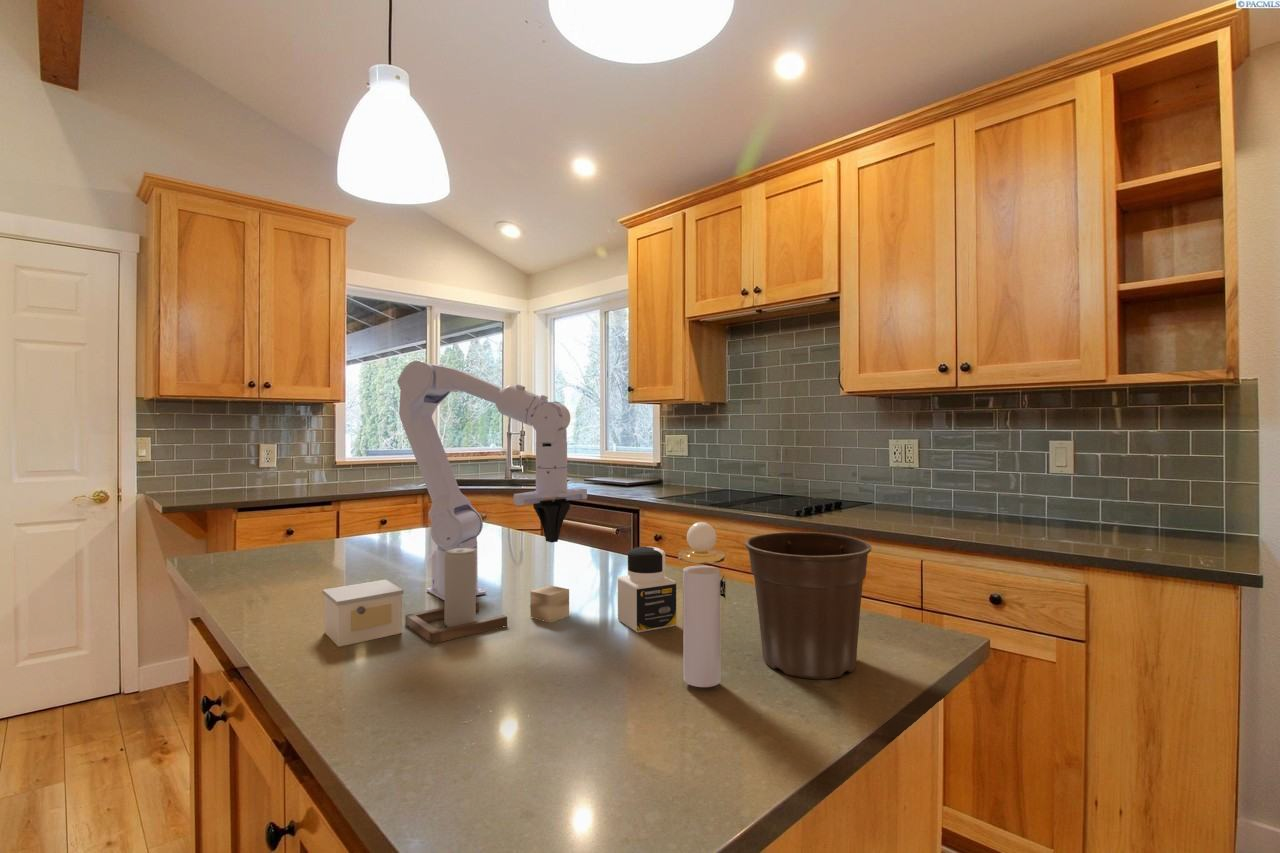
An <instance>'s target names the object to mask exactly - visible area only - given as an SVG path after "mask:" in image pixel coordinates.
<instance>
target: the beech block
mask: <svg viewBox="0 0 1280 853" xmlns="http://www.w3.org/2000/svg"><path fill="white" fill-rule="evenodd" d="M529 594H530V618H531V617H533V618H537V619H540V620H539V621H541V620H544V621H543V622H545V621H548V622H547V623H549V622H552V623H554V622H556V621H555V620H557V621H559V620H562V619H564V618H563V617H565V618H566V616H567V617H569V616H570V589H569V588H565V587H559V586H556V585H555V586H554V585H546V586H542V587H538V588H537V589H533V590H530V593H529ZM568 615H569V616H568ZM533 618H532V619H533ZM561 618H562V619H561ZM537 619H536V620H537ZM558 619H559V620H558ZM553 621H554V622H553Z"/></svg>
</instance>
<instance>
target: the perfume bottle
mask: <svg viewBox="0 0 1280 853" xmlns="http://www.w3.org/2000/svg"><path fill="white" fill-rule="evenodd" d="M686 541H687V542H686V543H687V544H688V546H689V547H690V548H689V549H684V550H679V551H678V552H677V559H678V560H679V561H682V562H684V563H689V564H706V565H691V566H686V567H684V568H683V569H682V598H683V599H682V616H683V617H682V630H683V631H682V632H683V633H682V634H683V636H682V639H683V640H682V642H683V645H682V646H683V647H682V648H683V654H682V656H683V660H682V661H683V666H682V668H683V672H682V673H683V682H685V684H688V685H690V686H692V687H698V688H711V687H714V686H718V685H719V684H720V683H721V682H722V681H721V680H722V677H721V676H722V673H721V671H722V669H721V667H722V665H721V660H722V659H721V657H722V656H721V655H722V654H721V653H722V652H721V650H722V649H721V645H722V644H721V641H722V640H721V636H722V635H721V632H722V631H721V629H722V628H721V624H722V623H721V597H723V598H724V599H726V581H724V580H726V578H725V574H724V575H723V576H722V578H721V569H720V568H719V567H715V566H712V565H711V566H710V565H707V564H716V563H722V562H725V560H726V553H725V552H724V551H722V550H718V549H713V548H714V547H715V545H716V543H717V533H716V529H715V528H714V527H713V526H712V525H711V524H709V523H708V522H704V521H698V522H695V523H693V524H692V525H690V526H689V529H688V530H687V533H686Z"/></svg>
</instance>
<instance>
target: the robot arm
mask: <svg viewBox="0 0 1280 853" xmlns="http://www.w3.org/2000/svg"><path fill="white" fill-rule="evenodd" d="M397 384H398V385H397V386H398V387H399V390H400V395H399V408H398V409H399V410H398V411H399V412H398V414H399V418H400V421H401V423H402V427H403V429H404V432H405V435H406V438H407V440H408V443H409V444H410V447H411V450H412V453H413V455H414V457H415V461H416V462H417V463H416V464H417V466H418V468H419V471H420V474H421V477H422V478H423V482H424V485H425V486H426V489H427V493H428V495H429V497H430V500H431V506H430V509H429V511H428V518H429V519H430V536H431V539H432V541H433V542H434V543H435V545H436V548H435V549H434V550H433V553H432V554H431V562H430V563H431V566H430V567H431V570H430V571H431V587H427V588H426V591H427V592H428V593H430V594H432V595H433V596H436V597H437V598H438V599H439V598H440V599H441V600H443V601H445V554H446V550H447V549H449V548H453V547H472V548H475V551H474V552H475V553H476V596H479V595H486V594H487V590H485V589H482V588H481V587H478V586H479V585H478V582H479V580H478V578H479V576H478V541H477V540H478V539H477V538H478V536H479V535H480V534H481V533H482V531H483V527H484V526H483V525H484V521H483V519H482V515H481V514H480V513H479V512H478V511H477V510H476V509H475V508H474V506H473V505H472V502H471V500H470V499H469V498H468V497H467V496H466V495H465V494H463V493H462V491H461V490H460V487H459V484H458V482H457V479H456V476H455V474H454V472H453V469H452V467H451V464H450V461H449V459H448V456H447V453H446V451H445V448H444V446H443V444H442V443H443V442H442V441H441V438H440V436H439V433H438V430H437V428H436V425H435V422H434V420H433V415H434V413H435V411H436V409H437V408H438V406H439V405H440V404H441V403H442V402H443V401H444V399H446V398H447V397H448V396H449V395H450V394H451V393H458V392H463V393H466V394H468V395H470V396H473V397H476V398H479V399H481V400H485V401H487V402H490V403H492V404H494V405H495V406H496V408H497V411H498V413H499V414H501V415H504V416H506V417H508V418H510V419H513V420H516V421H518V422H520V423H523V424H525V425H528V426H530V427H531V426H532V427H533V429H534V430H535V490H534V491H527V492H526V491H525V492H520V493H514V494H513V506H514V505H515V506H517V507H518V506H519V507H520V506H524V505H533V509H534V511H535V512H536V514H537V516H538V518H539V521H540V523H541V526H542V530H543V534H544V538H545V541H546V542H548V543H551V544H552V543H557V542H559V538H560V533H561V528H562V525H563V523H564V521H565V519H566V518H565V517H566V516H567V514H568V512H569V510H570V509H571V502H569V501H574V500H587V499H588V488H582V487H579V488H577V487H576V488H568V440H567V439H568V436H567V433H568V432H567V431H568V430H567V428H568V427H569V425H570V422H571V413H570V411H569V409H568V408H567V407H566V406H565V405H563V404H562V403H561V402H560V401H548V399H549V396H547V395H545V394H544V395H543V394H541V395H538V394H535V393H532V392H530V391H527V390H526V386H524V385H521V384H518V383H517V384H516V385H513V384H511V385H507V386H506V387H500V386H498V385H496V384H494V383H492V382H489V381H487V380H485V379H483V378H480V377H478V376H476V375H473V374H471V373H470V372H467V371H464V370H461V369H458V368H454V367H448V366H445V365H443V364H432V363H428V362H425V361H422V360H414V361H410V362H409V363H407V364H406V365H405V366H404V368H403V369H402V371H401V373H400V375H399V376H398V378H397Z"/></svg>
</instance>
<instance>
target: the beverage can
mask: <svg viewBox="0 0 1280 853" xmlns="http://www.w3.org/2000/svg"><path fill="white" fill-rule="evenodd" d="M474 551H475V548H472V547H453V548H449V549H447V550H446V554H445V600H444V607H445V608H444V621H443V623H444V624H445V627H446V628H448V627H452V626H456V625H461V624H465V623H470V622H474V621H476V617H477V616H476V615H477V614H476V601H477V600H476V599H477V598H476V597H477V595H476V553H475V552H474Z"/></svg>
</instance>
